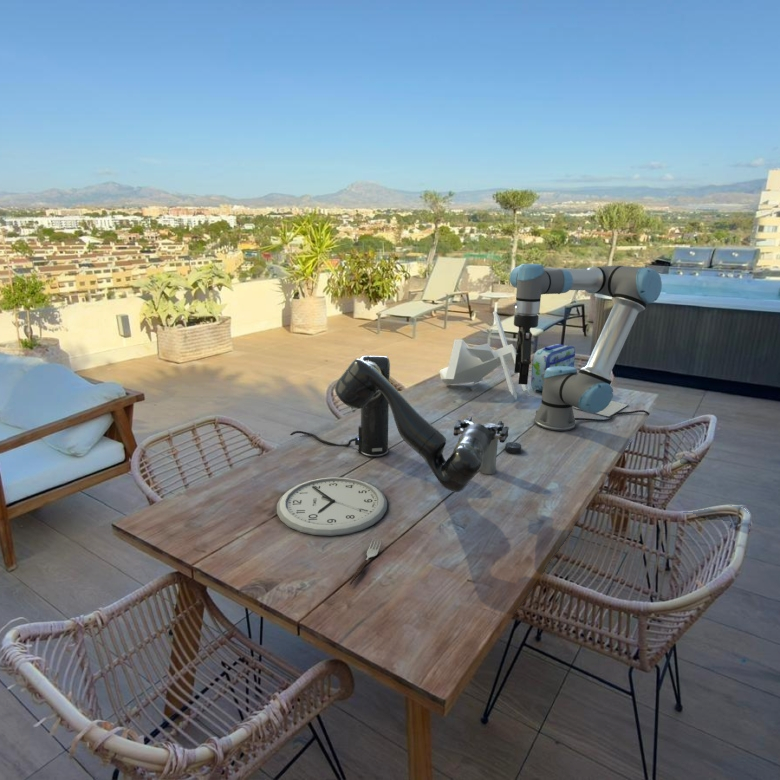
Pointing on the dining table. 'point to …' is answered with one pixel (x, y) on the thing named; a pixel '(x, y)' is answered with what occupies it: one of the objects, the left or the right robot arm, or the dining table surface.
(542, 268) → the right robot arm
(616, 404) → the invitation card
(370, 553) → the fork
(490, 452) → the jar
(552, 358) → the lunch box
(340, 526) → the wall clock
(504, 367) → the white plastic object
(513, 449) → the lid
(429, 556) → the dining table surface
